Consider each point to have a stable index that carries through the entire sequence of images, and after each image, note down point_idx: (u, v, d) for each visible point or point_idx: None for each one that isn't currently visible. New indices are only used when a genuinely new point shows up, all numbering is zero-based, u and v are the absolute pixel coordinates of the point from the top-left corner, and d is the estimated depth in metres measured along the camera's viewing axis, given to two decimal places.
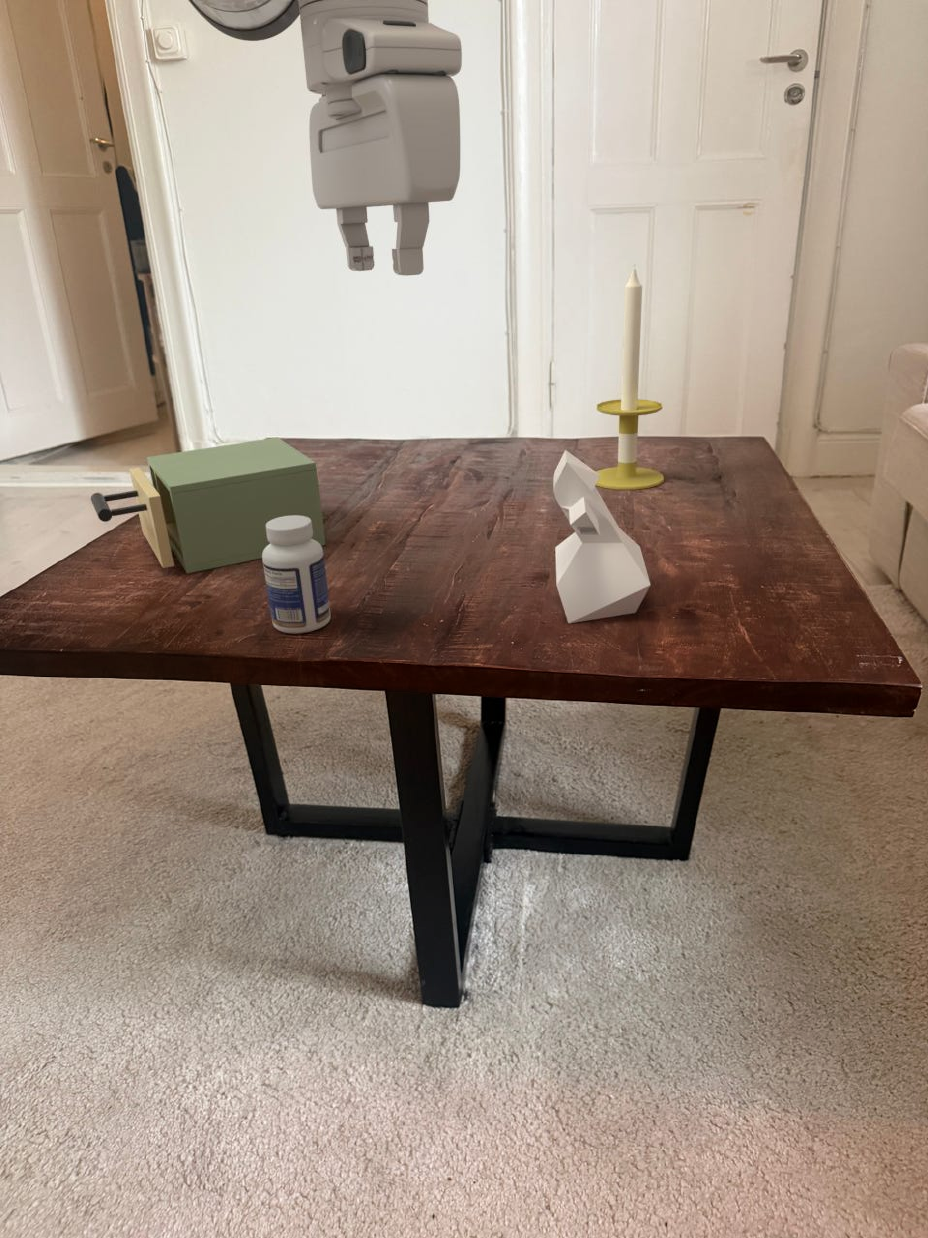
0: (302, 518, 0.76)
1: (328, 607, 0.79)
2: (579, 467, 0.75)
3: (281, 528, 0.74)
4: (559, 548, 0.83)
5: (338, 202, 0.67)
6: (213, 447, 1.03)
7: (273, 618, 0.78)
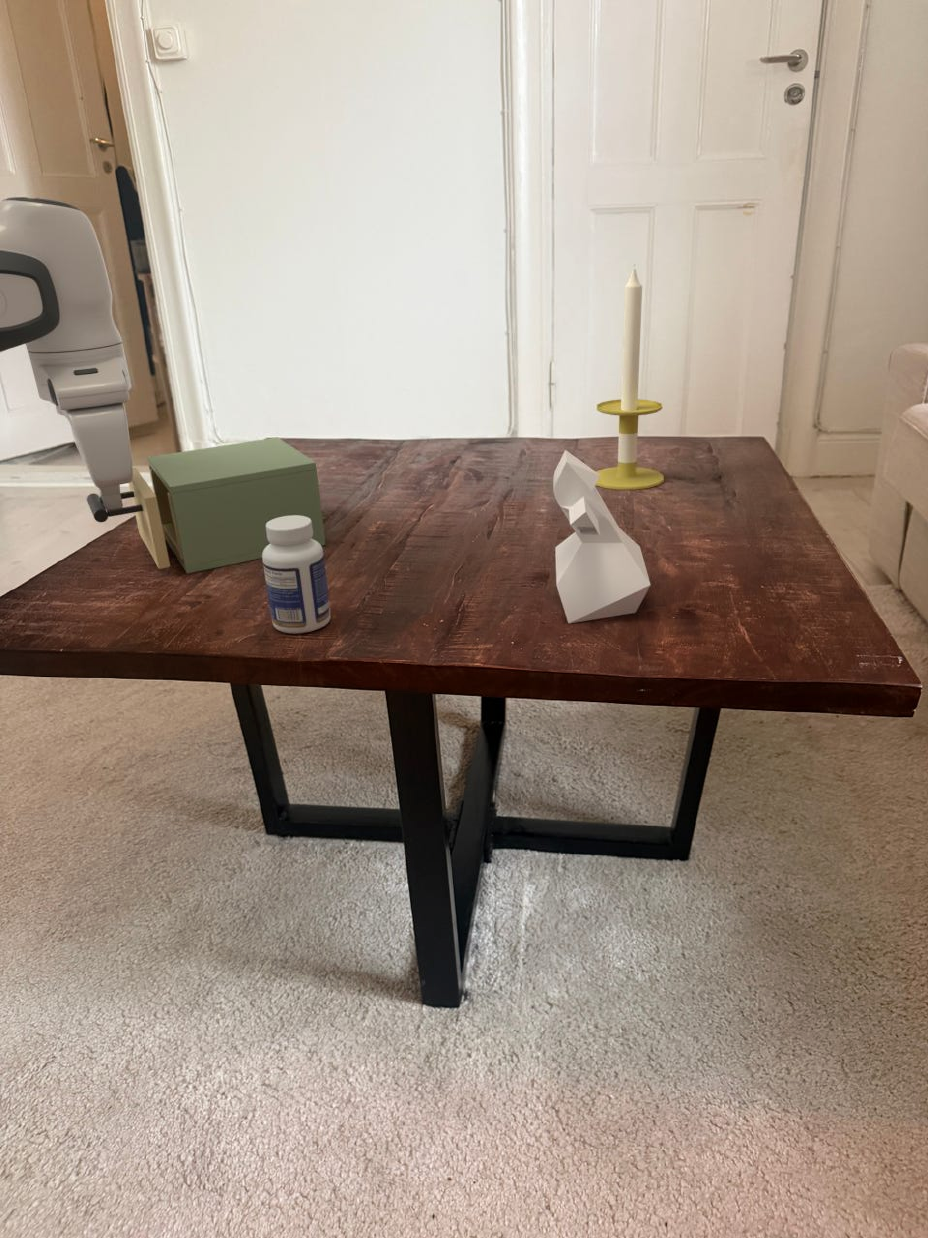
0: (302, 518, 0.76)
1: (328, 607, 0.79)
2: (579, 467, 0.75)
3: (281, 528, 0.74)
4: (559, 548, 0.83)
5: None
6: (213, 447, 1.03)
7: (273, 618, 0.78)
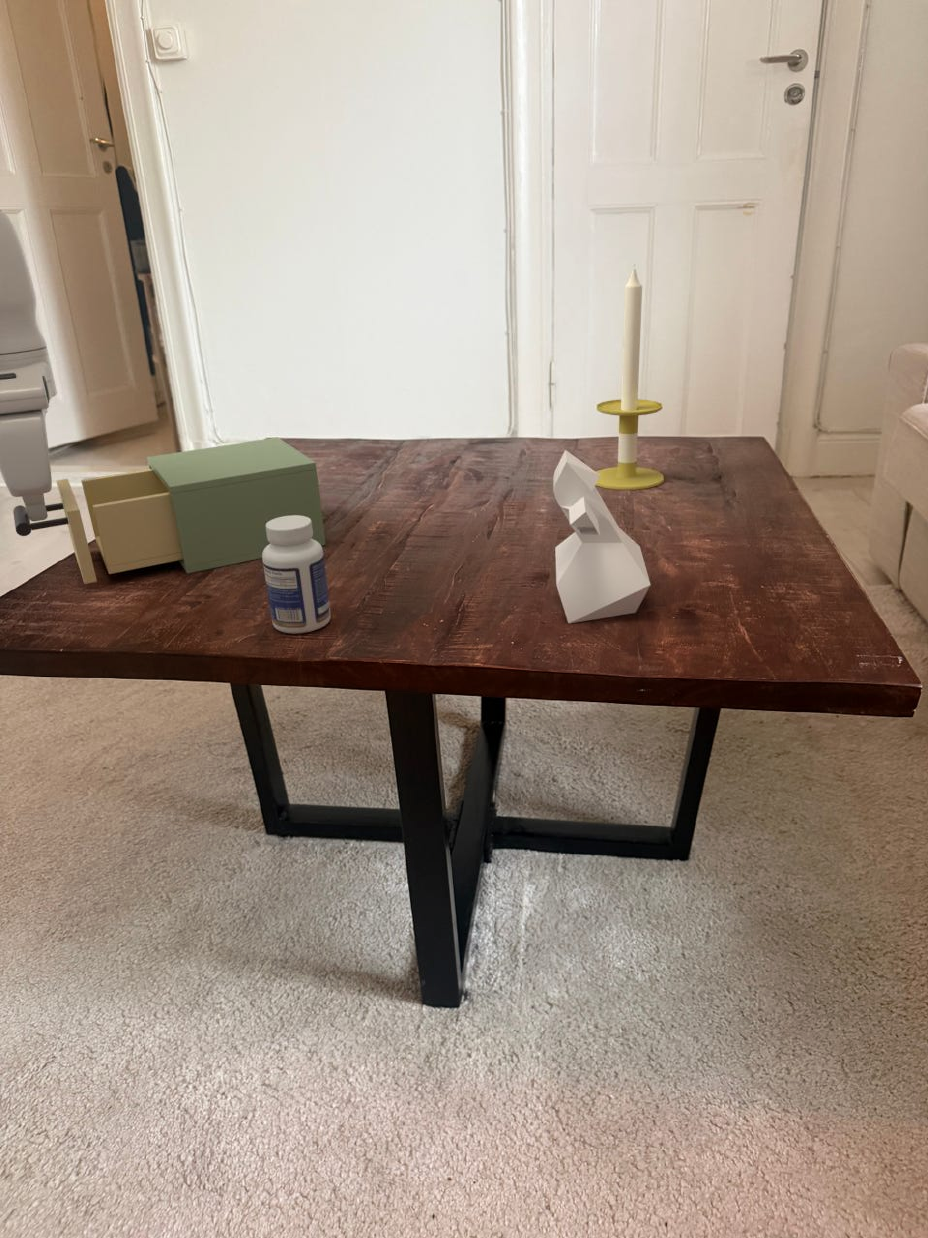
0: (302, 518, 0.76)
1: (328, 607, 0.79)
2: (579, 467, 0.75)
3: (281, 528, 0.74)
4: (559, 548, 0.83)
5: None
6: (213, 447, 1.03)
7: (273, 618, 0.78)
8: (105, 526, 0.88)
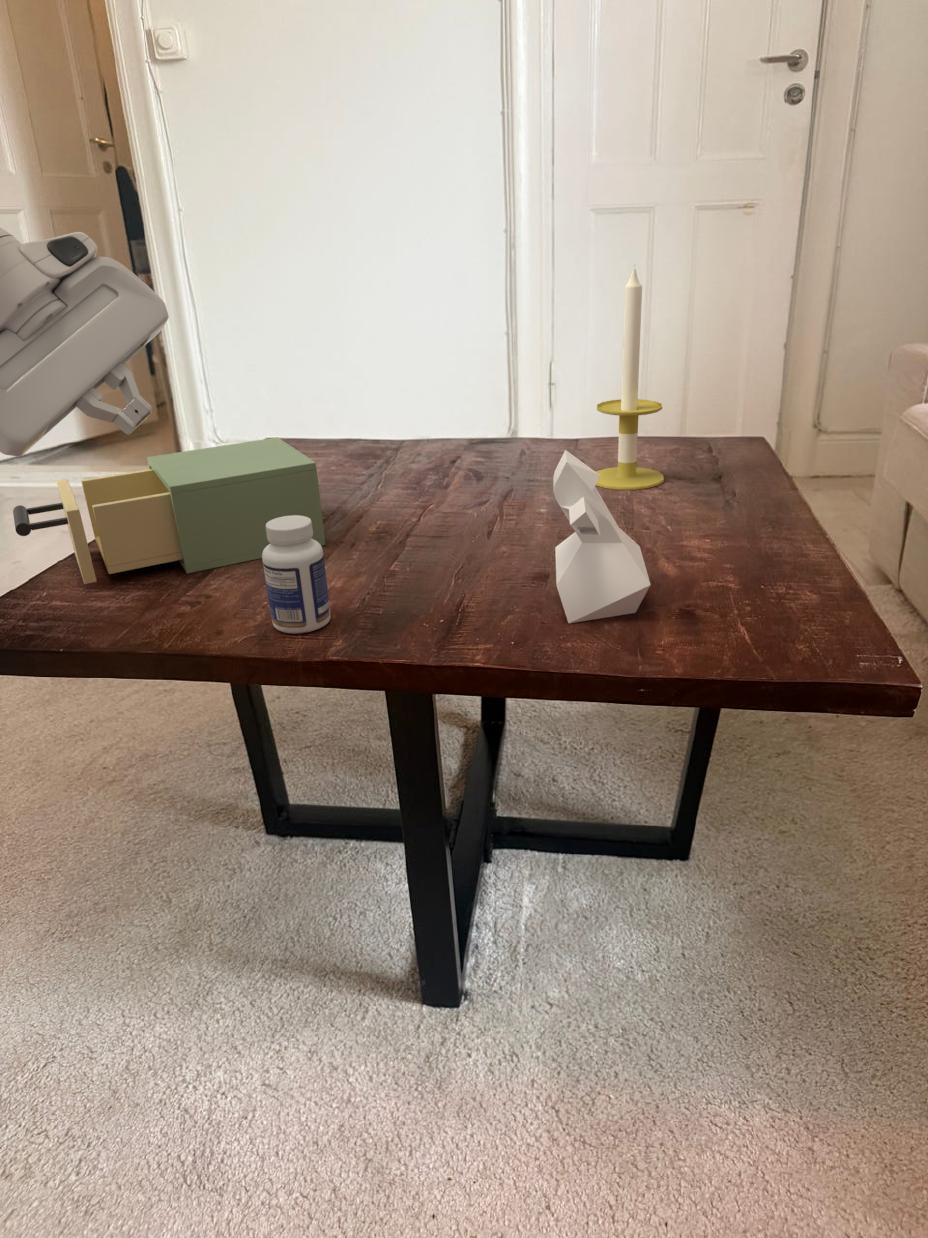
0: (302, 518, 0.76)
1: (328, 607, 0.79)
2: (579, 467, 0.75)
3: (281, 528, 0.74)
4: (559, 548, 0.83)
5: (69, 399, 0.72)
6: (213, 447, 1.03)
7: (273, 618, 0.78)
8: (105, 526, 0.88)
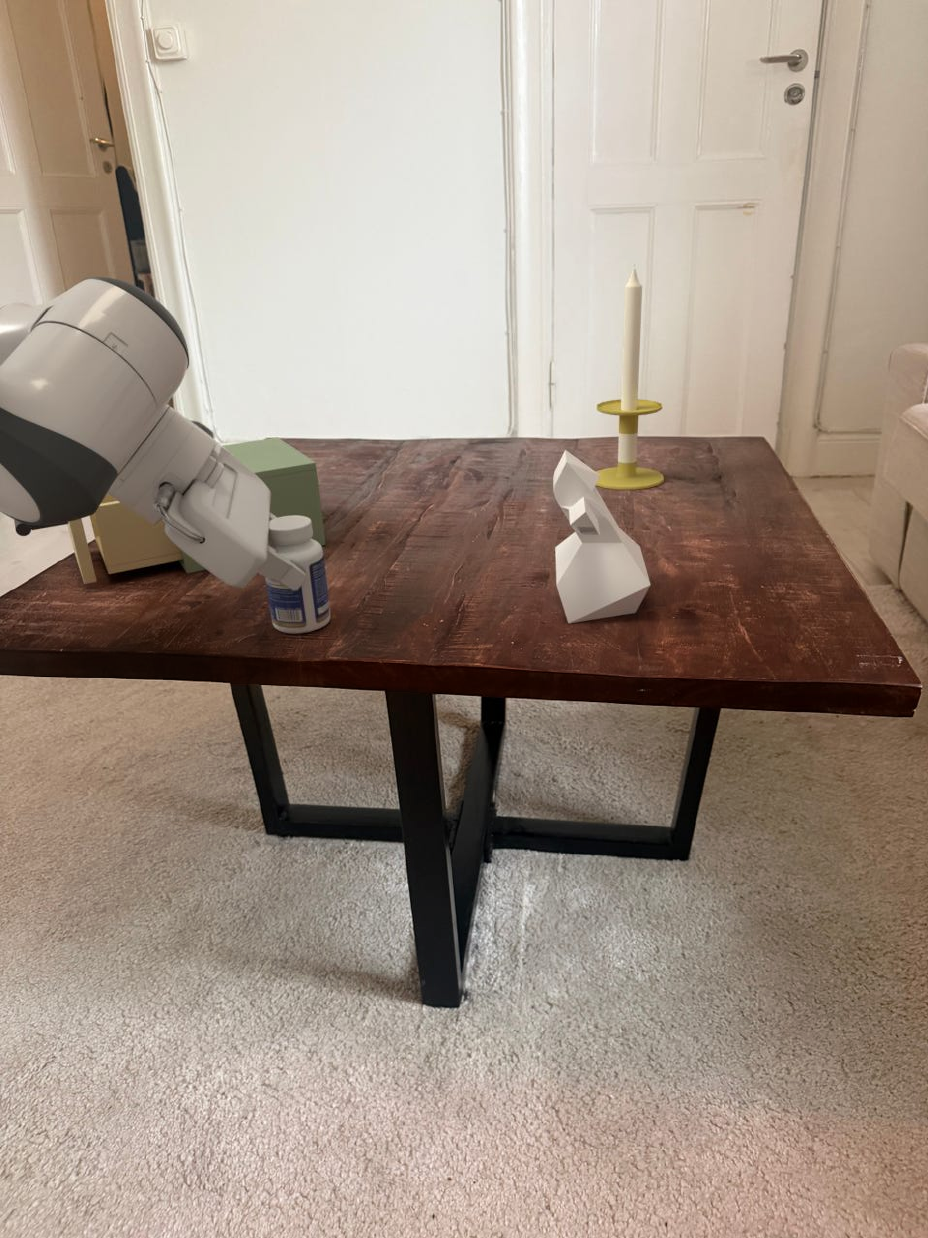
0: (302, 518, 0.76)
1: (328, 607, 0.79)
2: (579, 467, 0.75)
3: (281, 528, 0.74)
4: (559, 548, 0.83)
5: (266, 533, 0.72)
6: None
7: (273, 618, 0.78)
8: (105, 526, 0.88)
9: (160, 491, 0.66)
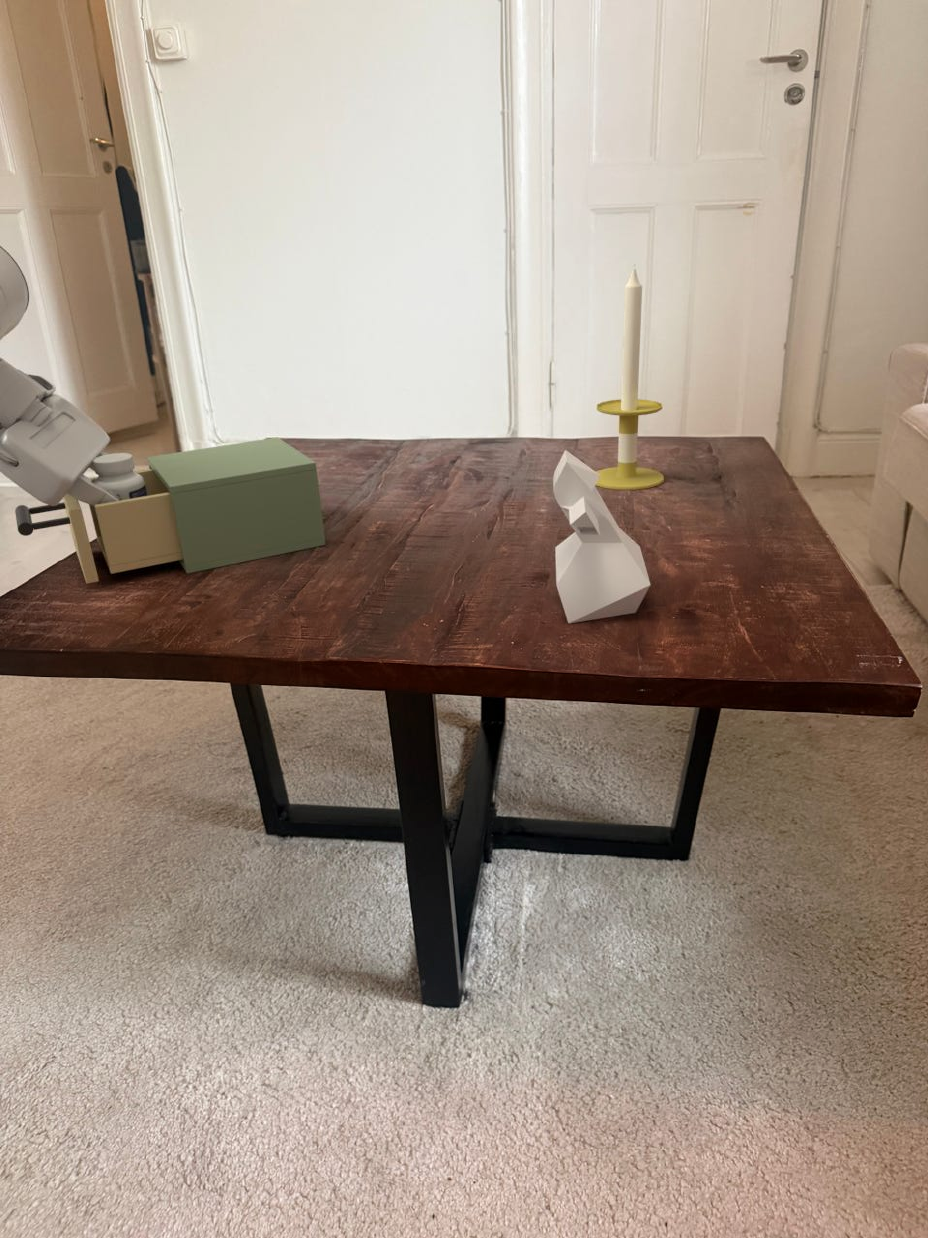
0: (125, 454, 0.92)
1: None
2: (579, 467, 0.75)
3: (103, 461, 0.90)
4: (559, 548, 0.83)
5: (84, 464, 0.87)
6: (213, 447, 1.03)
7: None
8: (107, 526, 0.88)
9: None
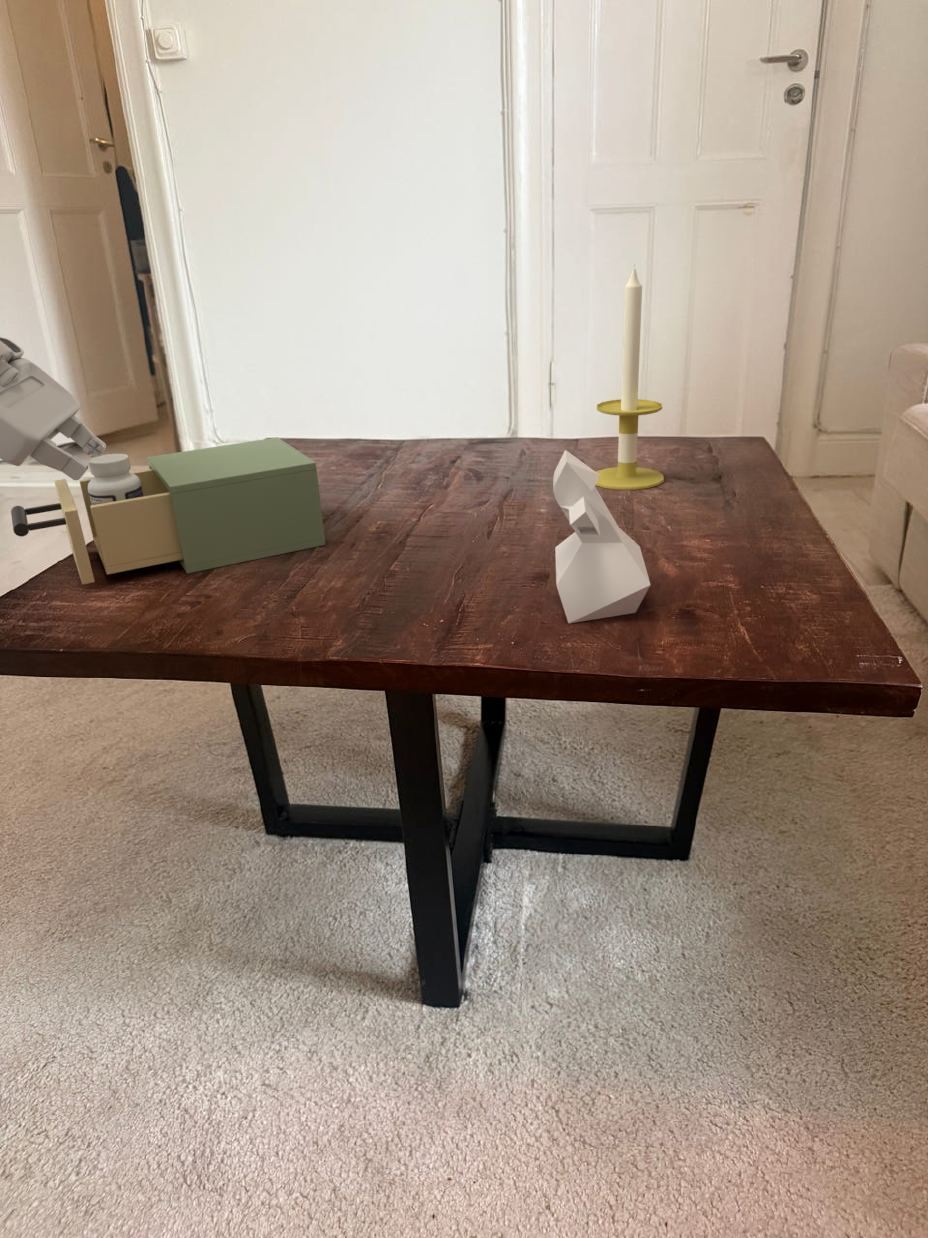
0: (121, 455, 0.92)
1: None
2: (579, 467, 0.75)
3: (99, 462, 0.90)
4: (559, 548, 0.83)
5: (50, 426, 0.85)
6: (213, 447, 1.03)
7: None
8: (103, 526, 0.88)
9: None
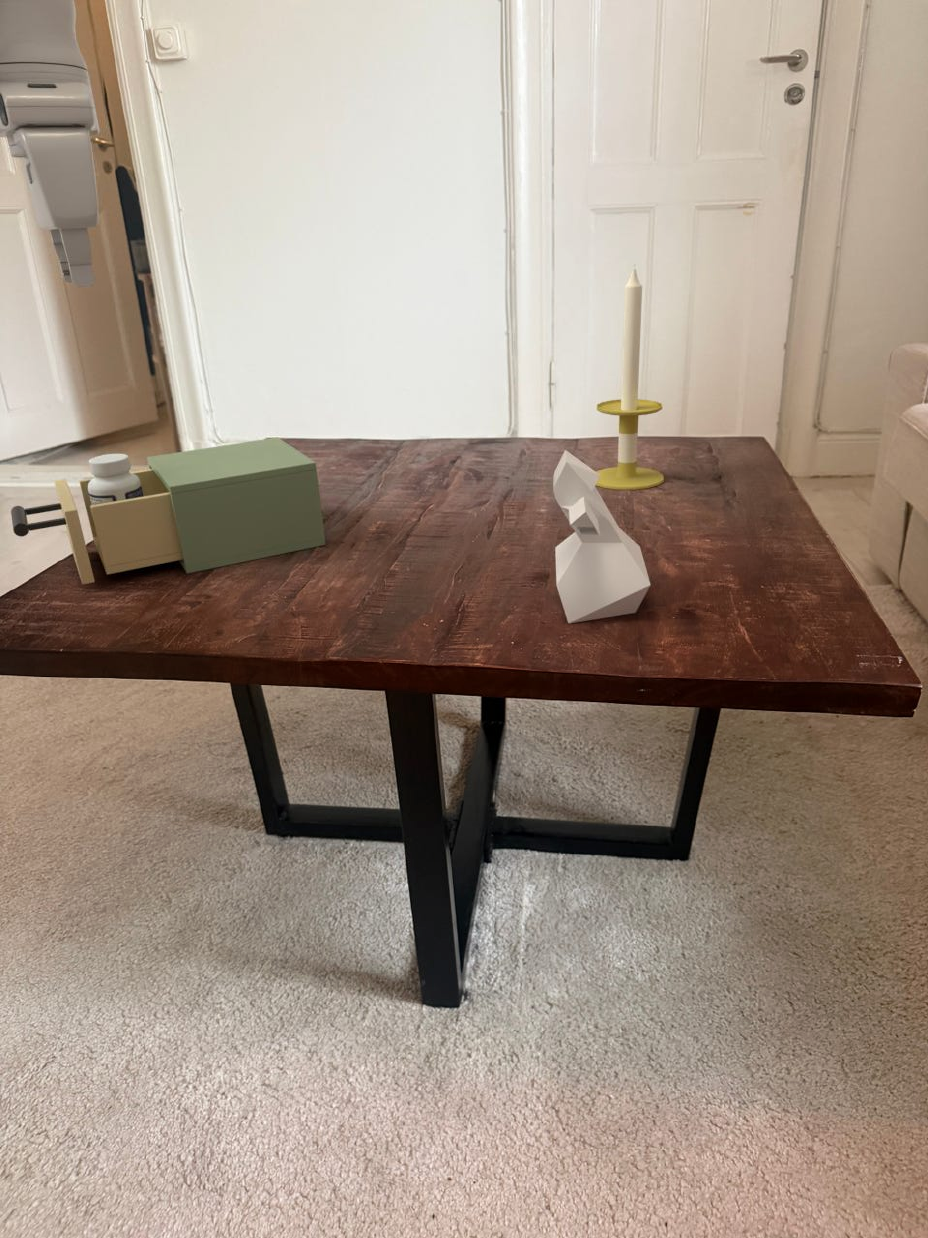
0: (121, 455, 0.92)
1: None
2: (579, 467, 0.75)
3: (99, 462, 0.90)
4: (559, 548, 0.83)
5: (42, 225, 0.80)
6: (213, 447, 1.03)
7: None
8: (103, 526, 0.88)
9: None
